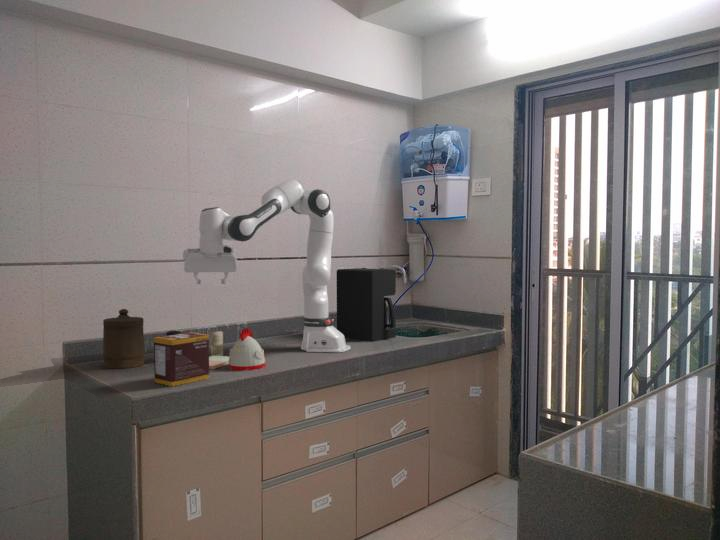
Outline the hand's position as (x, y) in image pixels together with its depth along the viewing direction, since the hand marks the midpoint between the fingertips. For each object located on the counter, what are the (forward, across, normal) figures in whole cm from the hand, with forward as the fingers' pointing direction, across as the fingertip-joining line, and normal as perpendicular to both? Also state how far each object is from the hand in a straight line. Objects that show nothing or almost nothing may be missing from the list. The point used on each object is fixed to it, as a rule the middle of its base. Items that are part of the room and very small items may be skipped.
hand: (211, 283), depth 222 cm
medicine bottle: (+32, -13, +14) cm, 37 cm away
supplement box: (+32, -12, -24) cm, 42 cm away
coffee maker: (+31, +83, +39) cm, 96 cm away
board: (+32, +1, +1) cm, 32 cm away
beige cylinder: (+32, +4, +18) cm, 36 cm away
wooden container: (+32, -32, +11) cm, 47 cm away
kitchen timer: (+32, +12, -10) cm, 36 cm away
